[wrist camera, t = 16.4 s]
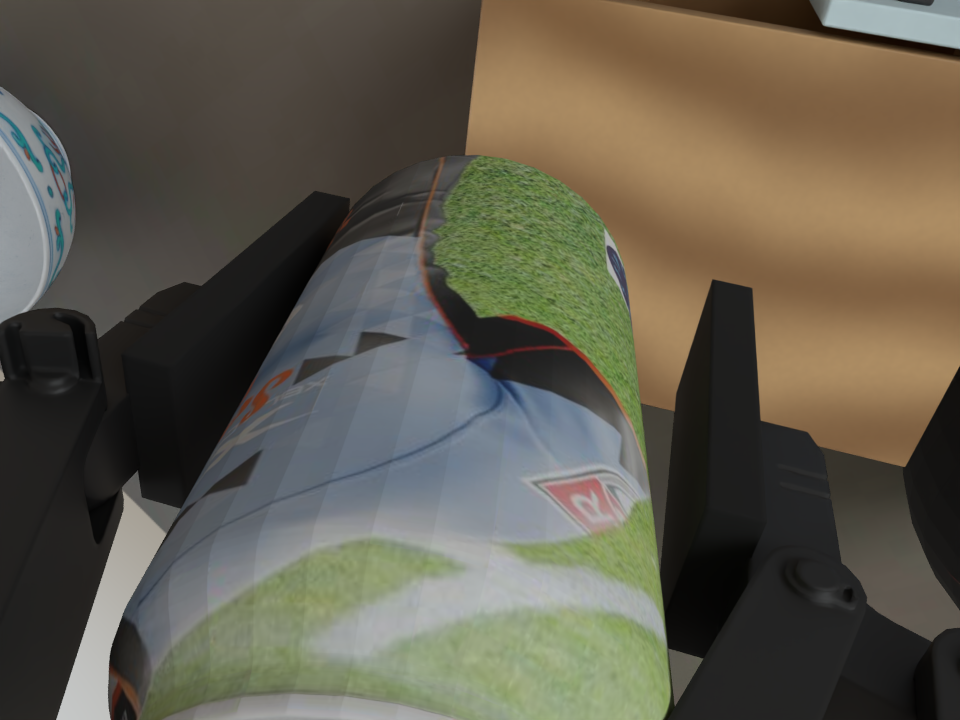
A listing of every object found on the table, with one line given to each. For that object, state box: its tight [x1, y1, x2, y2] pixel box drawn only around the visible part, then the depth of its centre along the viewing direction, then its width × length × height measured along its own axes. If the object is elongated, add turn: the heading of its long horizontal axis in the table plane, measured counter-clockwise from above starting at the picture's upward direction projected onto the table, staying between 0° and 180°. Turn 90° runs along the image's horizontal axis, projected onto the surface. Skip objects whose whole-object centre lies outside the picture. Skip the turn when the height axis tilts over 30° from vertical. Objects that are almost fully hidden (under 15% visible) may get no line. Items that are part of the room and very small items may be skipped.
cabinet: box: [465, 0, 960, 467], centre depth 33 cm, size 14×18×13 cm
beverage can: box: [108, 155, 675, 720], centre depth 12 cm, size 6×7×12 cm
